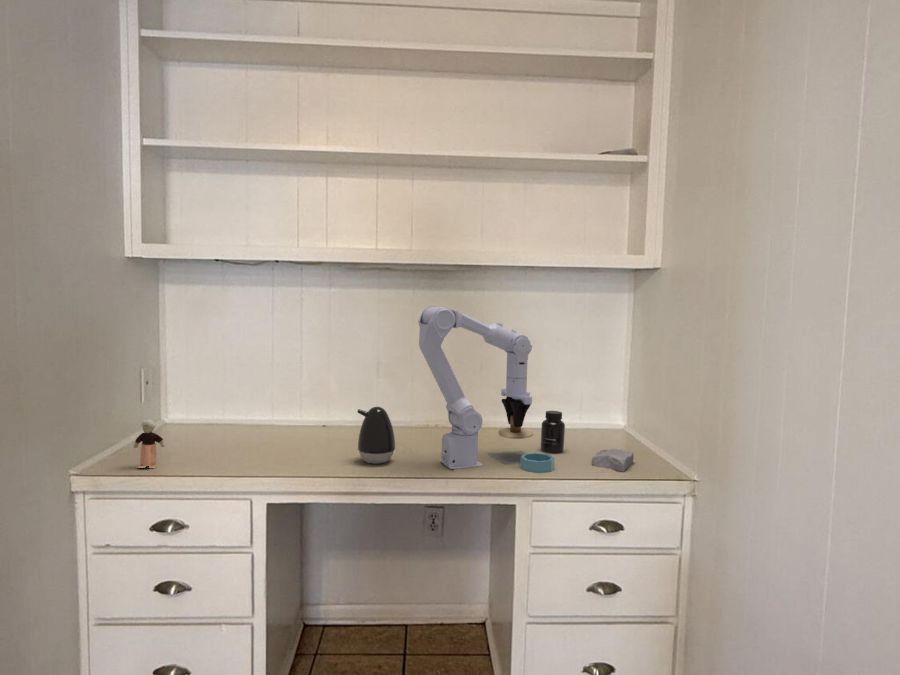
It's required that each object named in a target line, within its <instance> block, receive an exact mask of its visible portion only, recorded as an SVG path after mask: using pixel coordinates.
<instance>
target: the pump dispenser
mask: <svg viewBox="0 0 900 675" xmlns="http://www.w3.org/2000/svg"><path fill="white" fill-rule="evenodd" d="M357 413H358V414H360V415H362V416H363V417H364V419H363V420H362V423H361V426H360V430H359V433H358V440H357V450H358V453H359V456H360V457H361V459H362V460H363V461H364V462H365V463H368V464H372V465H380V464H381V463H382V464H384V463H386V462H388V461H390V459H392V458H393V455H394V451H395V450H396V439H395V432H394V427H393V424H392V422H391V419H390V417H389V414H388V412H387V411H386V410H385V409H384V408H383V407H381V406H373V407H371V408H370V409H368V411H366V410H362V409H357Z"/></svg>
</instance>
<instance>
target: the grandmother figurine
mask: <svg viewBox="0 0 900 675" xmlns="http://www.w3.org/2000/svg"><path fill="white" fill-rule="evenodd" d="M141 426H142V431H143V432H142V433H140V434H139V435H138V436H137V437H136V439H135V442H134V444H133V446H132V447H133V448H134V449H137V448H138V447H139V445H140V443H141V442H142V443H141V445H140V459H139V460H140V461H139V465H138V466H155V465H157V445H156V443H158V444H159V445H160V447H161V448H165V446H166V444H165V442H164V438H162V437H161V435H159V434H157V433H154V432H153V431H154V429H156V428H157V425H156V423H155V421H153V420H152V419H151V418H149V419H144V420H143V421H142V422H141Z"/></svg>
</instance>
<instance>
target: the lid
mask: <svg viewBox="0 0 900 675" xmlns="http://www.w3.org/2000/svg"><path fill="white" fill-rule="evenodd" d="M533 434H534V433H533V430H531V429H529V428H524V427H515V426H514V419H513V415H511V416H510V424H509V427H504V428H500V429H498V436H499V437H501V438H506V439H513V440H514V439H515V440H519V439H520V440H521V439H528V438H531V437H533Z"/></svg>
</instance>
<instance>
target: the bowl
mask: <svg viewBox="0 0 900 675" xmlns="http://www.w3.org/2000/svg"><path fill="white" fill-rule="evenodd" d="M519 468H521V469H522V470H524V471H525V472H531V473H537V474H539V473H540V474H542V473H551V472H552V471H553V470H554V469H555V457H554V456H552V455H551V454H549V453H540V452H531V453H529V452H527V453H526V454H523V455H522V456H521V457H520V463H519Z"/></svg>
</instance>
